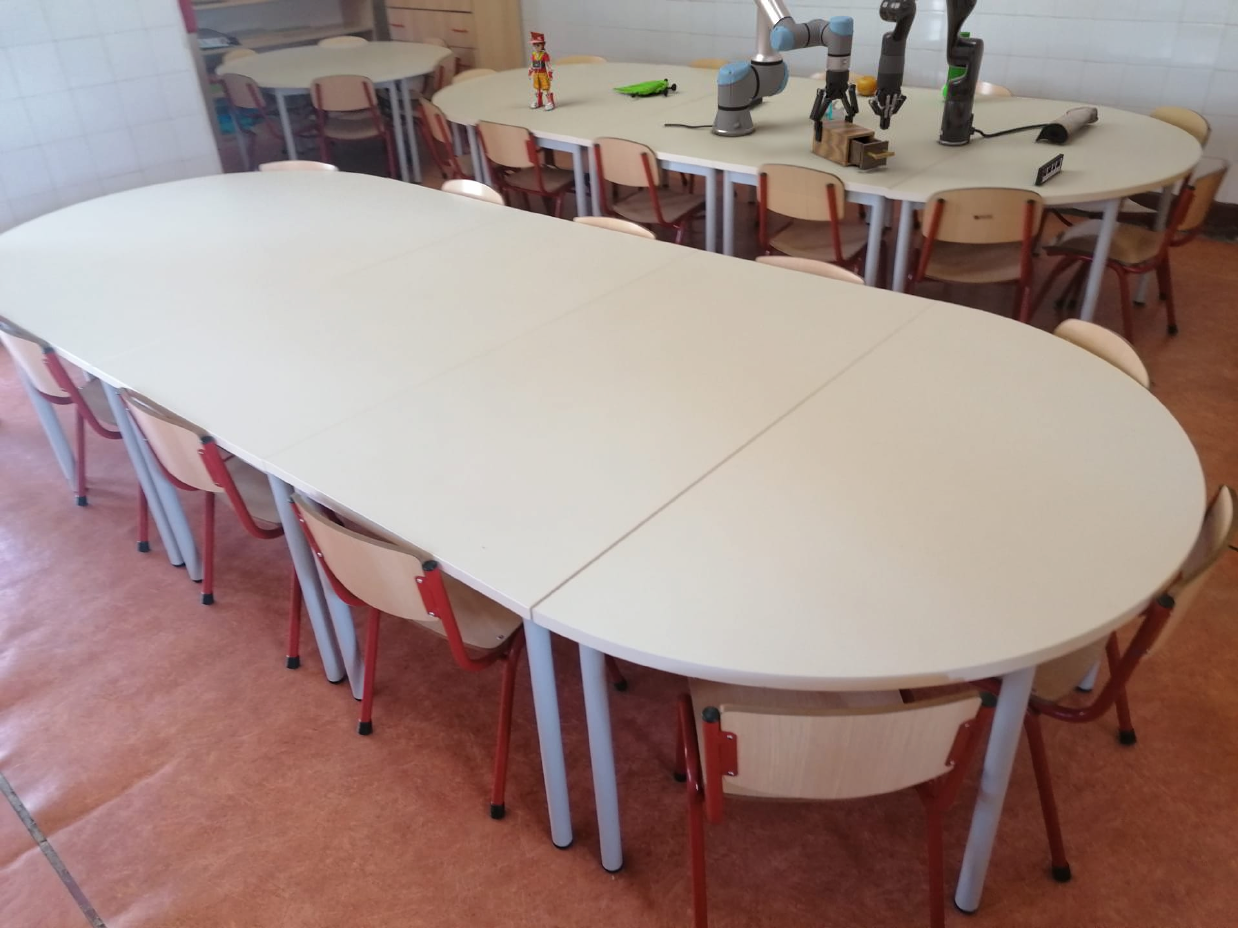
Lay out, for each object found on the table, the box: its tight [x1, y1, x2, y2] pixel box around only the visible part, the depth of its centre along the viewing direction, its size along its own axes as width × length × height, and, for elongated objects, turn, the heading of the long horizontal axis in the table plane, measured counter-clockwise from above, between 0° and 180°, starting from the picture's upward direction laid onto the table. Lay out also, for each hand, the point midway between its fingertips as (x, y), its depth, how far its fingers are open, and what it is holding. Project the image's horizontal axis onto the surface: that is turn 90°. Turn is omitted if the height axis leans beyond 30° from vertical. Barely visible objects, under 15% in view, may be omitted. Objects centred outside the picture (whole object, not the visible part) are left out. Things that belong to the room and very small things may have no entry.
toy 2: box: [612, 78, 677, 99], centre depth 396 cm, size 28×5×30 cm
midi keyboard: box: [1035, 153, 1065, 186], centre depth 273 cm, size 18×1×5 cm, turn 138°
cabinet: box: [811, 119, 876, 167], centre depth 301 cm, size 20×11×10 cm, turn 22°
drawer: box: [848, 136, 896, 170], centre depth 292 cm, size 24×9×8 cm, turn 22°
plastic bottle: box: [942, 31, 971, 100], centre depth 348 cm, size 10×10×25 cm
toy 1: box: [527, 31, 556, 111], centre depth 374 cm, size 12×9×30 cm
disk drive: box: [749, 97, 764, 110], centre depth 367 cm, size 10×3×15 cm
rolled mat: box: [1035, 106, 1099, 146], centre depth 310 cm, size 30×9×10 cm
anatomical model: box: [822, 93, 845, 121], centre depth 342 cm, size 15×10×10 cm
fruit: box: [856, 75, 877, 96], centre depth 370 cm, size 8×8×8 cm
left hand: (832, 138), depth 306 cm, fingers closed on cabinet, 11 cm apart
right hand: (884, 129), depth 279 cm, fingers closed
